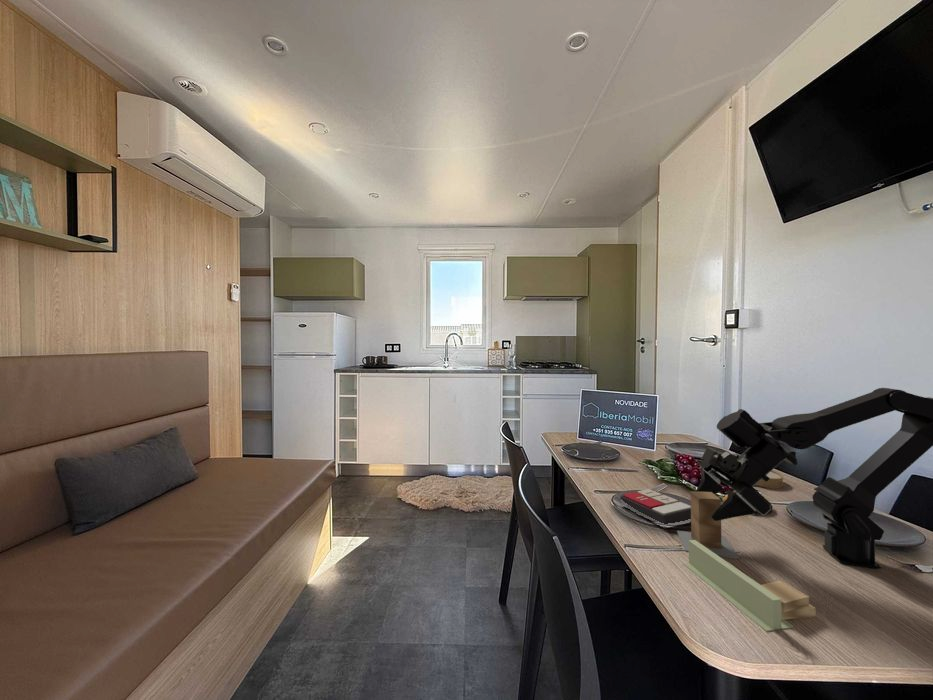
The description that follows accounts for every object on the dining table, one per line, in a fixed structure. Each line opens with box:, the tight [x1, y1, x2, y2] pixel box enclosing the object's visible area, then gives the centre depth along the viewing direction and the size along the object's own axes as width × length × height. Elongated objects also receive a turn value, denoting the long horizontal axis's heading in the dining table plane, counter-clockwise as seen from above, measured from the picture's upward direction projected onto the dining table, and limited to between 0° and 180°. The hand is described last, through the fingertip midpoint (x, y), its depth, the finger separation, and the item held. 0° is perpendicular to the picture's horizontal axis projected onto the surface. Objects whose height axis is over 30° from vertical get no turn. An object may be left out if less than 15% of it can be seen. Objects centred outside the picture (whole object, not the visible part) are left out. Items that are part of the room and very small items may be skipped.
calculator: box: [620, 488, 691, 530], centre depth 99 cm, size 11×4×15 cm
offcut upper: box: [760, 580, 810, 612], centre depth 62 cm, size 6×4×2 cm
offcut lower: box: [781, 603, 817, 621], centre depth 63 cm, size 7×5×2 cm
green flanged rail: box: [683, 540, 794, 632], centre depth 67 cm, size 5×18×5 cm, turn 8°
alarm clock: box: [755, 469, 786, 489], centre depth 120 cm, size 11×5×15 cm
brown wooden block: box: [690, 490, 722, 549], centre depth 83 cm, size 4×4×11 cm
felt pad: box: [676, 529, 741, 560], centre depth 83 cm, size 10×9×1 cm
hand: (703, 509), depth 83 cm, fingers open, 9 cm apart
